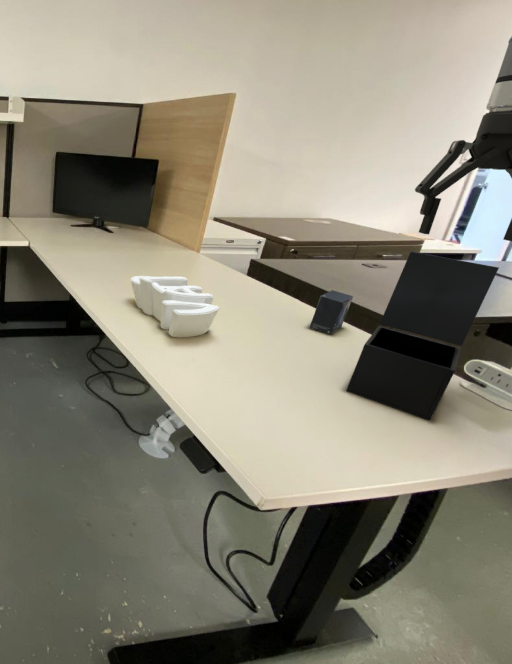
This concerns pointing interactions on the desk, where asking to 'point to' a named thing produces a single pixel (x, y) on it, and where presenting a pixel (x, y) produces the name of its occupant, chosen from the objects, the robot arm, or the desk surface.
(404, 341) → the black box body
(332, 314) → the small box
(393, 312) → the black box lid
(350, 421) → the desk surface
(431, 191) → the robot arm
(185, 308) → the white letter sign
